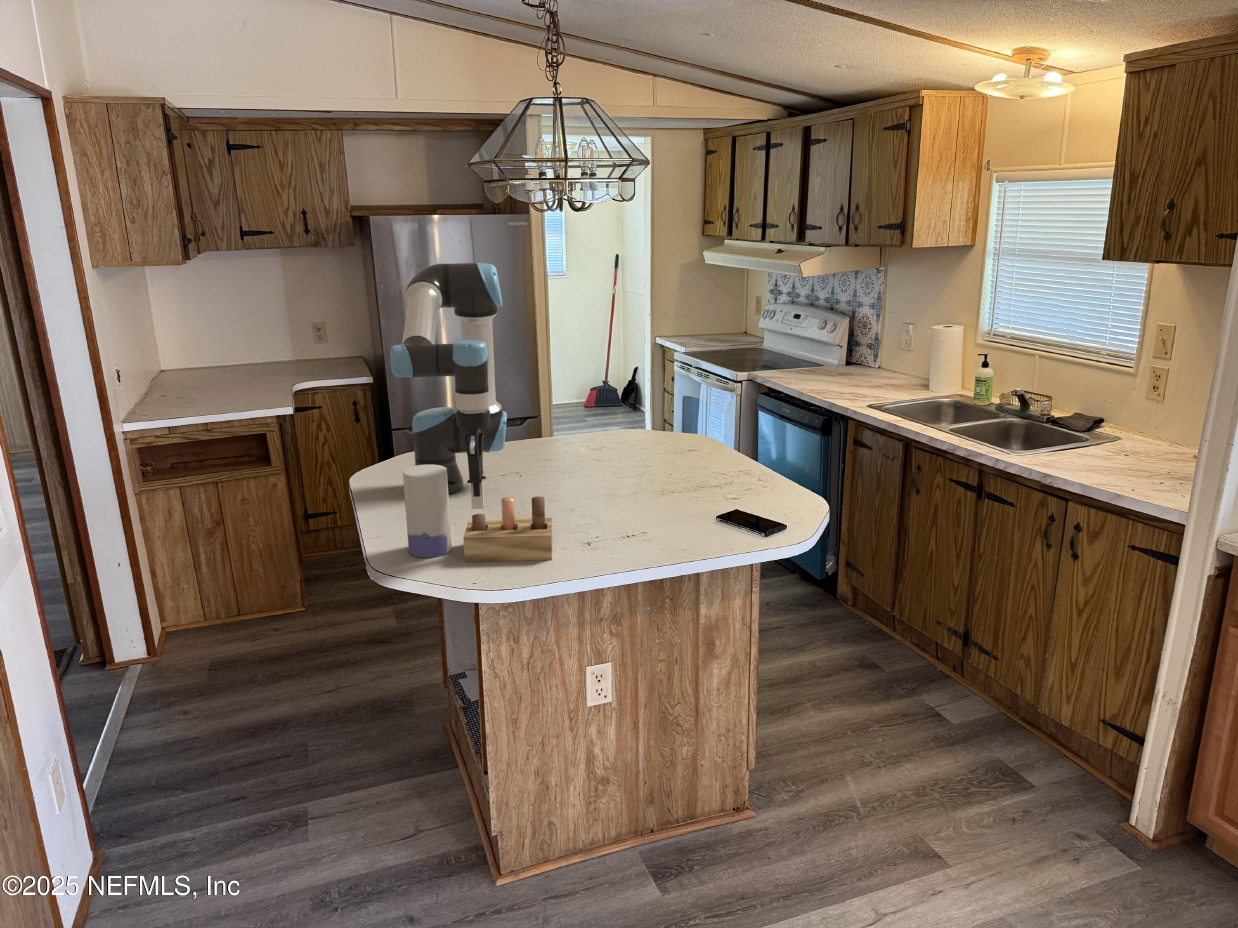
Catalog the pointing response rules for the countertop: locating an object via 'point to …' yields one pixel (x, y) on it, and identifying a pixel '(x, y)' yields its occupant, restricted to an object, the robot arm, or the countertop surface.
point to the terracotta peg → (508, 513)
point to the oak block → (508, 541)
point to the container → (427, 510)
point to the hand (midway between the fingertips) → (478, 507)
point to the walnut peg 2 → (538, 513)
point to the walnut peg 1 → (478, 522)
